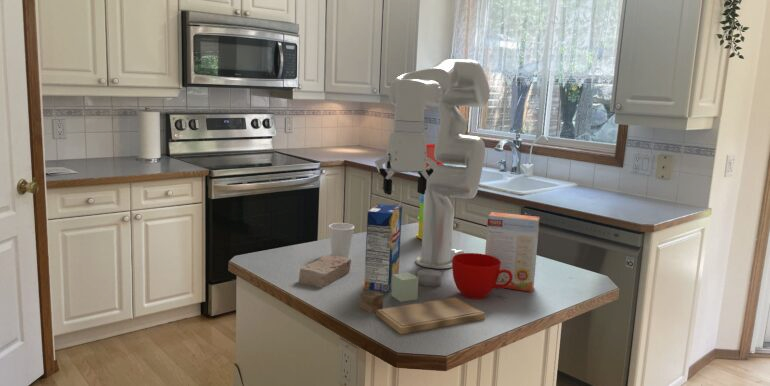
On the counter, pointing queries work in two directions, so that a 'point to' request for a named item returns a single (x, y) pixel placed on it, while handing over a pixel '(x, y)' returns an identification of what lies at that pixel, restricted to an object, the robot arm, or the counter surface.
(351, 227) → the dixie cup
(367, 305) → the walnut block
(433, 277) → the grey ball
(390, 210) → the beverage box
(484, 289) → the ceramic cup
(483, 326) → the counter surface
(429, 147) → the stacking cups
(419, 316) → the cutting board
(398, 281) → the sage block
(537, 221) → the cracker box
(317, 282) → the brick
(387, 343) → the counter surface
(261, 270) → the counter surface
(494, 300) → the counter surface
